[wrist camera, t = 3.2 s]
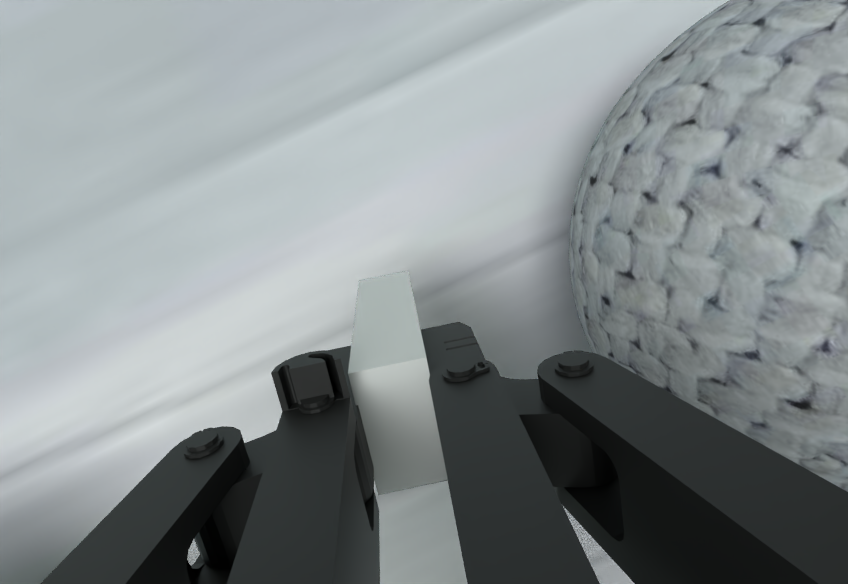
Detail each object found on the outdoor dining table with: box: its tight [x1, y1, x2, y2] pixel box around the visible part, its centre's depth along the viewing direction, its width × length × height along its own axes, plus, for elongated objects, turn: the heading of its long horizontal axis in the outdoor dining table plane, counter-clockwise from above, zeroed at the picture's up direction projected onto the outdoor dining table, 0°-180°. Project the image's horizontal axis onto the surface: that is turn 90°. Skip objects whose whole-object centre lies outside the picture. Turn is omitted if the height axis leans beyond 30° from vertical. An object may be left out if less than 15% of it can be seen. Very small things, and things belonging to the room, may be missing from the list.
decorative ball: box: [569, 0, 848, 492], centre depth 16 cm, size 15×15×15 cm
